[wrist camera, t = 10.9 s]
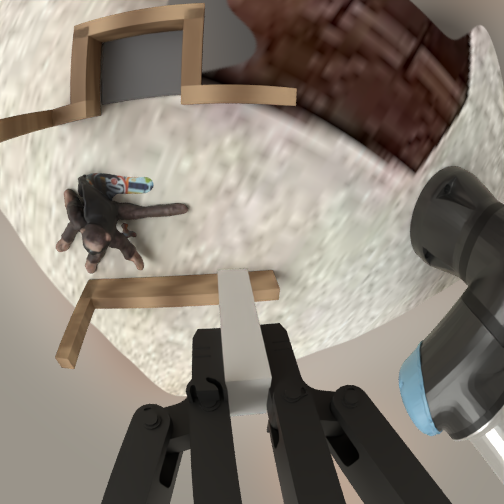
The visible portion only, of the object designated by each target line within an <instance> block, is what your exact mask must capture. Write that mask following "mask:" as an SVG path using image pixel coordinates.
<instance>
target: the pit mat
mask: <svg viewBox="0 0 504 504" xmlns="http://www.w3.org/2000/svg"><path fill="white" fill-rule="evenodd" d="M182 43H183V30H181V31H170V32H160V33H152V34H145V35H139V36H133V37H128V38H122V39H117V40H113V41H108V42H104V49H103V69H102V105H105V104H110V103H116V102H121V101H128V100H134V99H142V98H150V97H158V96H169V95H181V67H182Z"/></svg>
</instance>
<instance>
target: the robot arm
mask: <svg viewBox="0 0 504 504" xmlns="http://www.w3.org/2000/svg"><path fill="white" fill-rule="evenodd" d="M410 236H411V243H412V247H413V249H414V251H415V253H416V254H417V255H418V256H419V257H420V258H421V259H422V260H423V261H424V262H426V263H427V264H428V265H430V266H432V267H435V268H437V269H440V270H443V271H445V272H448V273H450V274H453V275H455V276H458V277H459V278H461V279H462V280H463V281H464V282H465V283H466V284H467V285H468V288H467V289H466V291H465V292H464V293H463V295H462V296H461V297H460V298H459V300H458V301H457V302H456V303H455V305H454V306H453V307H452V308H451V310H450V311H449V312H448V313H447V314H446V316H445V317H444V318H443V319H442V320H441V321H440V323H439V324H438V325H437V326H436V327H435V328H434V329H433V331H432V332H431V333H430V334H429V335H428V336H427V337H426V338H425V339H424V340H423V341H421V342H420V343H419V344H418V347H417V348H416V350H415V351H414V352H413V353H412V354H411V355H410V356H409V357H408V358H407V359H406V360H405V361H404V363H403V364H402V367H401V369H400V372H399V388H400V392H401V397H402V400H403V403H404V406H405V408H406V410H407V413H408V414H409V416H410V418H411V419H412V421H413V423H414V424H415V425H416V427H417V428H418V429H419V430H420V431H422V432H423V433H424V434H427V435H429V436H434V435H436V434H440V433H441V432H442V430H445V431H446V432H447V433H448V434H449V435H450V437H451V438H452V439H453V440H454V441H462V440H470V441H471V443H472V444H473V445H474V446H475V448H476V449H477V450H478V452H479V453H480V454H481V456H482V457H483V458H484V459H485V460H486V462H487V463H488V464H489V466H490V467H491V468H492V470H493V471H494V472H495V474H496V475H497V477H498V478H499V479H500V480H501V482H502V483H503V485H504V204H502V203H501V202H499V201H498V200H497V199H496V198H495V197H494V196H493V195H492V194H491V192H490V191H489V190H488V189H487V188H486V187H485V186H484V185H483V184H482V182H481V181H480V180H479V179H478V178H477V177H476V176H475V175H474V174H472V173H471V172H469V171H467V170H464V169H462V168H460V167H456V166H451V167H447V168H444V169H442V170H441V171H439V172H438V173H437V174H435V175H434V176H433V177H432V178H431V180H430V181H429V182H428V183H427V185H426V186H425V188H424V189H423V191H422V193H421V194H420V196H419V199H418V201H417V203H416V206H415V209H414V212H413V216H412V221H411V229H410ZM217 272H218V291H219V307H220V323H221V328H212V329H198V330H197V331H196V333H195V335H194V337H193V344H192V349H193V350H192V379H191V381H190V382H189V383H188V384H187V388H186V394H187V398H186V399H185V400H184V401H182V402H181V403H178V404H176V405H172V406H168V407H165V408H163V407H161V406H159V405H157V404H147V405H143V406H141V407H140V408H138V409H137V410H136V412H135V413H134V415H133V417H132V420H131V422H130V425H129V427H128V430H127V433H126V435H125V438H124V440H123V443H122V446H121V448H120V451H119V454H118V456H117V459H116V462H115V465H114V468H113V470H112V473H111V476H110V479H109V482H108V485H107V488H106V491H105V493H104V497H103V500H102V503H101V504H170V501H171V497H172V493H173V489H174V485H175V481H176V477H177V473H178V469H179V466H180V462H181V458H182V454H183V451H185V450H188V449H191V469H192V485H193V498H194V504H242V500H241V494H240V487H239V481H238V473H237V466H236V459H235V451H234V443H233V435H232V427H231V419H230V416H243V415H254V414H263V413H266V411H267V412H268V417H269V420H268V426H267V432H269V433H270V437H271V443H272V447H273V452H274V457H275V462H276V467H277V472H278V477H279V482H280V486H281V491H282V496H283V500H284V504H346V502H345V499H344V496H343V492H342V489H341V486H340V483H339V479H338V476H337V473H336V470H335V467H334V463H333V460H332V457H331V455H332V456H333V458H334V459H335V461H336V462H337V464H338V465H339V467H340V468H341V470H342V471H343V473H344V474H345V476H346V477H347V479H348V480H349V482H350V483H351V485H352V486H353V488H354V489H355V490H356V492H357V494H358V495H359V497H360V498H361V500H362V501H363V502H364V504H452V503H451V502H450V501H449V499H448V498H447V497H446V495H445V494H444V493H443V492H442V490H441V489H440V488H439V486H438V485H437V484H436V482H435V481H434V480H433V479H432V477H431V476H430V475H429V474H428V472H427V471H426V470H425V468H424V467H423V466H422V465H421V463H420V462H419V461H418V459H417V458H416V457H415V456H414V454H413V453H412V452H411V450H410V449H409V448H408V447H407V445H406V444H405V443H404V442H403V440H402V439H401V438H400V436H399V435H398V434H397V433H396V431H395V430H394V429H393V428H392V426H391V425H390V424H389V422H388V421H387V420H386V418H385V417H384V416H383V415H382V413H381V412H380V411H379V410H378V408H377V407H376V406H375V405H374V403H373V402H372V401H371V399H370V398H369V397H368V395H367V394H366V393H365V392H364V391H363V390H362V389H361V388H359V387H357V386H354V385H345V386H342V387H340V388H339V389H337V390H336V392H332V391H322V390H316V389H314V388H311V387H309V386H308V385H307V384H306V383H305V382H304V381H303V379H302V377H301V375H300V371H299V368H298V365H297V362H296V359H295V356H294V352H293V350H292V346H291V343H290V340H289V337H288V334H287V331H286V330H285V329H284V328H283V327H282V325H281V324H280V323H275V324H264V325H260V324H259V319H258V315H257V310H256V306H255V301H254V297H253V292H252V288H251V283H250V279H249V274H248V270H247V268H243V269H223V270H217Z"/></svg>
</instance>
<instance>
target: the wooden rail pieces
mask: <svg viewBox="0 0 504 504" xmlns="http://www.w3.org/2000/svg"><path fill="white" fill-rule="evenodd" d="M204 13H205V4H204V3H195V4H180V5H169V6H160V7H152V8H146V9H140V10H134V11H129V12H124V13H119V14H115V15H111V16H107V17H103V18H99V19H95V20H92V21H88V22H85V23H82V24H79V25H76V26H74V34H73V44H72V56H71V79H70V102H71V104H70V105H67V106H63V107H60V108H56V109H53V110H47V111H40V112H34V113H28V114H23V115H18V116H13V117H8V118H4V119H0V142H3V141H6V140H9V139H12V138H15V137H18V136H21V135H24V134H28V133H31V132H34V131H38V130H42V129H45V128H49V127H53V126H57V125H61V124H65V123H69V122H73V121H77V120H81V119H86V118H91V117H95V116H100V115H101V101H100V78H101V53H102V43H104V42H108V41H113V40H117V39H122V38H127V37H133V36H139V35H145V34H152V33H160V32H169V31H180V30H183V43H182V67H181V104H182V105H189V104H216V103H242V104H269V105H285V106H296V90H297V89H296V88H286V87H274V86H259V85H202V53H203V31H204ZM248 274H249V279H250V283H251V288H252V292H253V297H254V301H255V302H258V301H269V300H279V292H280V288H279V285H278V283H277V280H276V278H275V275H274V273H273V270H267V271H253V272H248ZM218 304H219V291H218V274H204V275H186V276H166V277H145V278H121V279H93V280H88V282H87V284H86V286H85V288H84V290H83V292H82V295H81V297H80V299H79V301H78V303H77V305H76V307H75V310H74V312H73V314H72V316H71V319H70V321H69V323H68V326H67V328H66V330H65V333H64V336H63V338H62V340H61V343H60V345H59V348H58V351H57V354H56V356H55V358H56V360H57V361H58V363H59V364H60V365H61V367H62V368H70V369H75V365H76V362H77V358H78V355H79V352H80V349H81V346H82V343H83V340H84V337H85V334H86V332H87V329H88V326H89V323H90V320H91V318H92V315H93V312H94V310H95V309H112V308H158V307H183V306H202V305H218Z"/></svg>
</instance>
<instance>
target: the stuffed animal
mask: <svg viewBox="0 0 504 504" xmlns="http://www.w3.org/2000/svg"><path fill="white" fill-rule="evenodd" d="M78 181H79V184H78V193H79V195H80V196H81V197H83V200H84V203H85V205H84V207H83V204H82V203H81V201H80V199H79V198H78V196H77V194H76V193H75V192H74V191H72V190H69V189H67V190H66V191H65V192H64V199H65V207H66V210H67V214H68V218H69V220H70V223H68V226H67V227H66V229H65V231H64V233H63V234H62V235H61V236H62V238H61V240H59V241H58V243H57V245H56V249H57V251H59V252H63V251H66V250H68V249H69V247H70V244H71V243H72V242H73V240H74V238H75V235H76V234H77V232H78V231H79V232H81V233H82V240H83V246H84V248H85V249H86V250H87V251H88V252H89V254H88V257H87V261H86V264H85V267H86V269H87V271H88V272H89V273H94V272H95V271H96V266H97V263H99V262H100V260H101V258H102V257H103V256H104V255H105V250H106V249H107V247H108V246H109V247H111V248H116V249H119V250H120V251H121V252H122V254H123V256H124V258H125V259H126V260H130V261H133V262H134V263H135V265H136V267H137V269H138V270H143V268H144V263H143V260H142V257H141V256H140V254H139V253H138V252H137V250H136V248H135V246H134V245H133V244H132V243H131V242H130V241H129V240H128V238H129V237H136V236H137V235H136V233H135V232H133V231H129V230H128V229H127V227H128V225H127V224H126V223H123V224H122V225H121V226H122V228H123V233H120V232H119V231H118V230H117V228H116V224H117V221H118V220H119V219H121V220H135V219H139V218H146V217H162V216H172V215H179V214H184V213H186V212H187V211H188V208H187V206H186V205H184V204H179V203H174V204H166V205H155V206H148V207H142V206H138V205H134V204H131V203H118V202H116V201H112V199H113V197H114V196H115V195H116V194H132V193H134V194H142V193H147V192H149V191H151V190H152V188H153V182H152V180H151V179H150V178H148V177H122V176H117V175H111V174H101V173H96V174H89V175H87V176H86V175H83V176H81V177H79V178H78Z"/></svg>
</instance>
